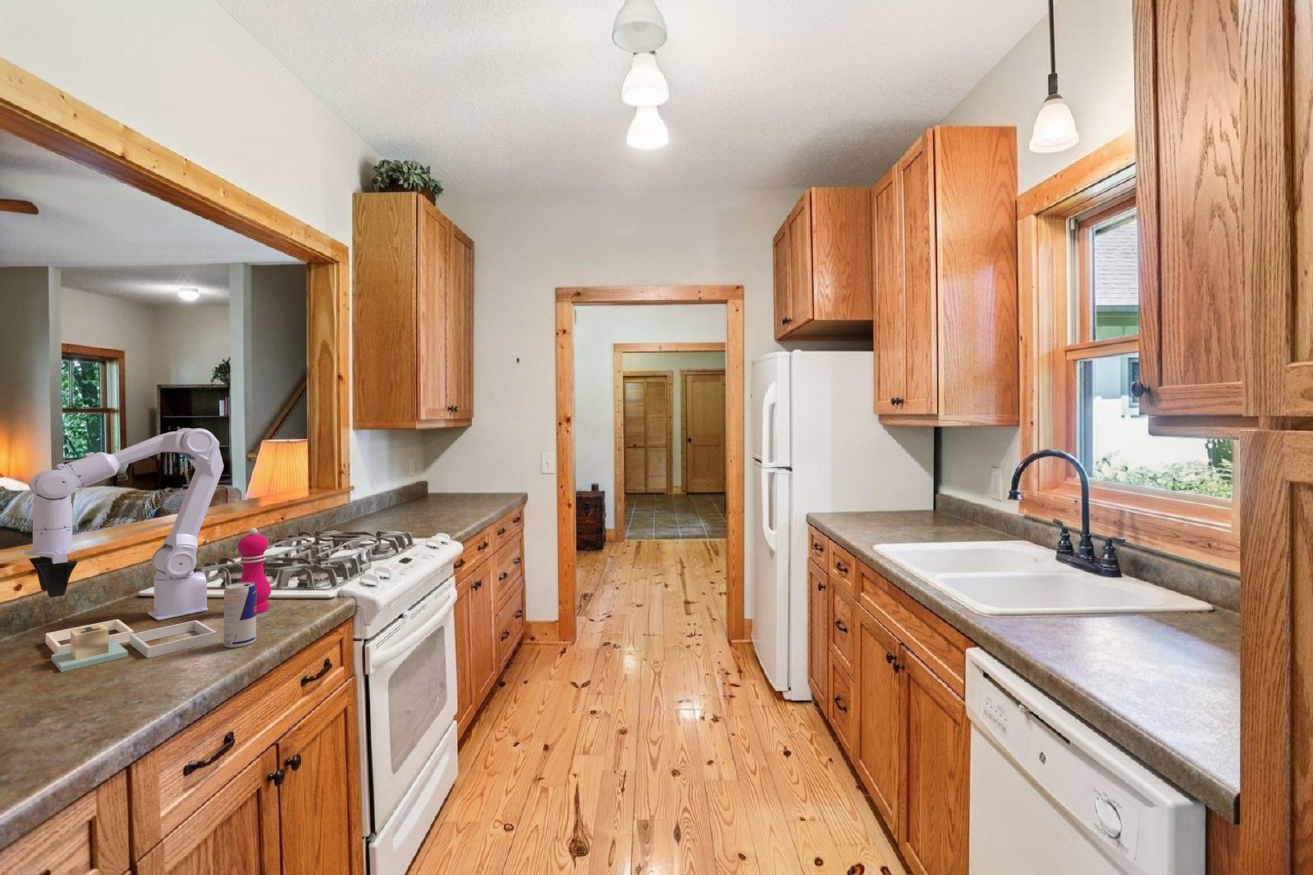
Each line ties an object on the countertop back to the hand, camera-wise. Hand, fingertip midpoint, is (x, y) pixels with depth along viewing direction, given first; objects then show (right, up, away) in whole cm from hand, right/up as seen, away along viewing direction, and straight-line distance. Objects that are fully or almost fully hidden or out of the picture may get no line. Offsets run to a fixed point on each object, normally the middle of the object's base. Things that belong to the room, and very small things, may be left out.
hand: (53, 592), depth 120 cm
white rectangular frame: (+27, -10, -2) cm, 29 cm away
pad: (+18, -10, -10) cm, 23 cm away
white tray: (+10, -10, -2) cm, 14 cm away
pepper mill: (+28, -10, +19) cm, 35 cm away
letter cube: (+18, -9, -10) cm, 22 cm away
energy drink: (+40, -10, -2) cm, 42 cm away
